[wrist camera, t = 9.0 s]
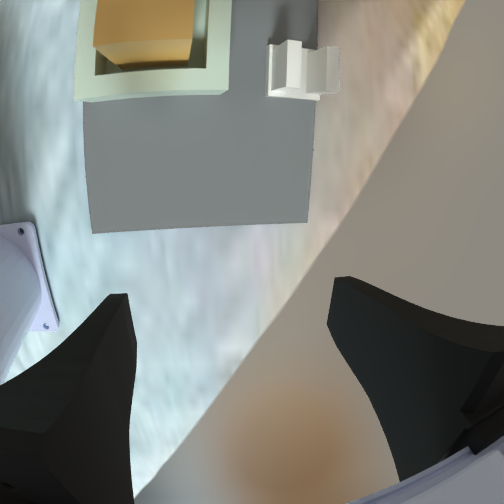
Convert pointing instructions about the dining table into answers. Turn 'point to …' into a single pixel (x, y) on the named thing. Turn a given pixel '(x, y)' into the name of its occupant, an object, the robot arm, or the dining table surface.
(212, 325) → the dining table surface
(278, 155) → the mat
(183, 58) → the connector plug
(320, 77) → the cable clip
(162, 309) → the dining table surface
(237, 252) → the dining table surface
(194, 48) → the end holder
